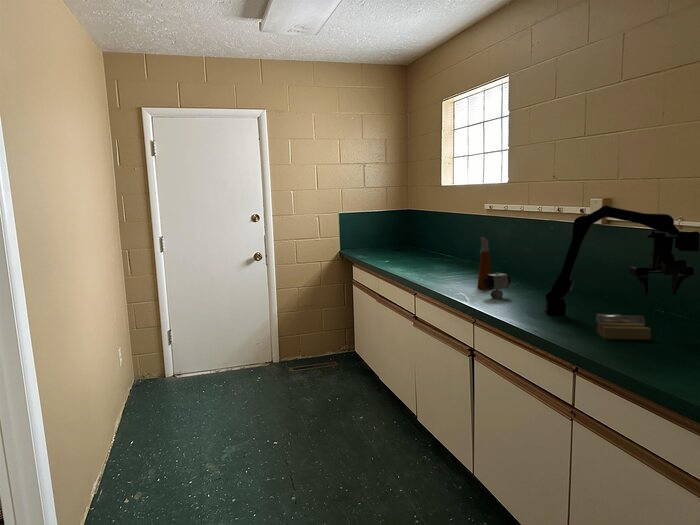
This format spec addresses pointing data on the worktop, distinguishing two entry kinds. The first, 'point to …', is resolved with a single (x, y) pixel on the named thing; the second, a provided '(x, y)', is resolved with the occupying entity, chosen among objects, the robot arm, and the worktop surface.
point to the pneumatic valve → (497, 283)
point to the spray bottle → (484, 263)
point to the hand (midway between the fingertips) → (659, 294)
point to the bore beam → (611, 319)
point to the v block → (623, 331)
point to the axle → (623, 318)
